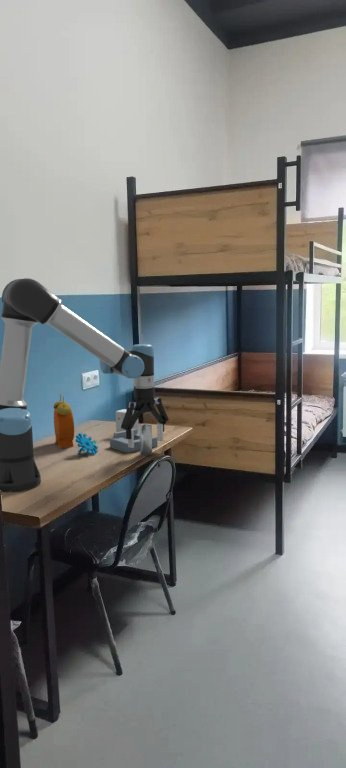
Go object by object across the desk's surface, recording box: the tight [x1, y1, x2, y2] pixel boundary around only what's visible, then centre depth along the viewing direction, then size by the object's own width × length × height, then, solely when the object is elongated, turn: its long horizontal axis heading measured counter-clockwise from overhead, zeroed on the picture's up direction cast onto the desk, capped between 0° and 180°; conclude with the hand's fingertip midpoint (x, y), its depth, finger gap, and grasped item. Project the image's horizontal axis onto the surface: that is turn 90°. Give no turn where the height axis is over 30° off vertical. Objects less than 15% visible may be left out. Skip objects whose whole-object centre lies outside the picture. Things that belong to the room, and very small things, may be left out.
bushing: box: [139, 423, 153, 457], centre depth 216 cm, size 4×4×11 cm
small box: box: [115, 408, 140, 433], centre depth 245 cm, size 8×6×10 cm
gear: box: [75, 432, 99, 456], centre depth 220 cm, size 11×6×10 cm
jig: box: [109, 429, 158, 454], centre depth 227 cm, size 14×12×5 cm
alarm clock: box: [53, 393, 75, 449], centre depth 232 cm, size 13×6×20 cm, turn 20°
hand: (146, 444), depth 216 cm, fingers open, 13 cm apart
